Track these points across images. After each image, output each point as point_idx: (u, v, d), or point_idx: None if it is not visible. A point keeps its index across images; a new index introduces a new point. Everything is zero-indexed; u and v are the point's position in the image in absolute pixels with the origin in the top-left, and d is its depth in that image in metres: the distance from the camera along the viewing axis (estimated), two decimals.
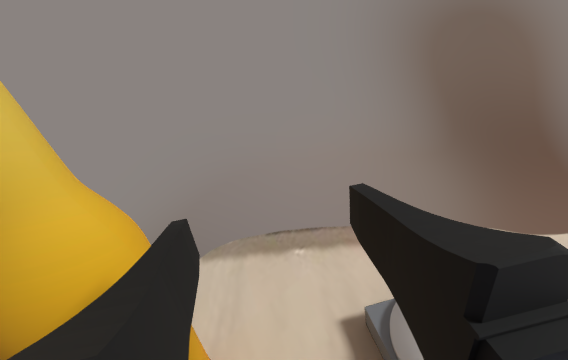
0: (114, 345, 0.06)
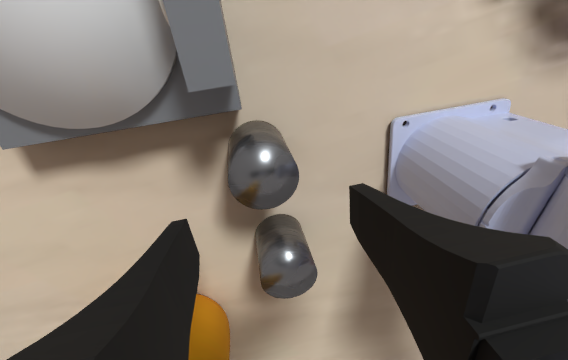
0: (114, 345, 0.06)
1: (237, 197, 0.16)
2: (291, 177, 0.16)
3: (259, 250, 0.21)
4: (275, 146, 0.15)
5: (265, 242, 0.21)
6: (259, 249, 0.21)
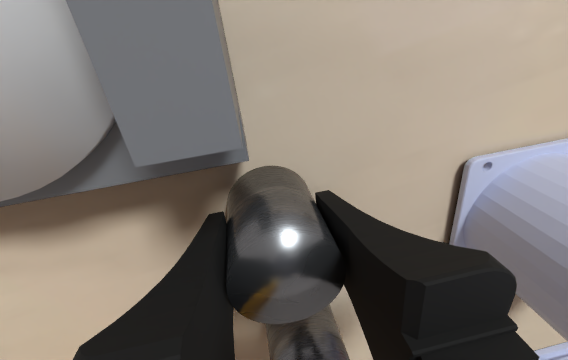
0: (192, 327, 0.06)
1: (242, 311, 0.10)
2: (333, 277, 0.10)
3: (272, 348, 0.15)
4: (309, 233, 0.09)
5: (282, 339, 0.14)
6: (272, 347, 0.15)
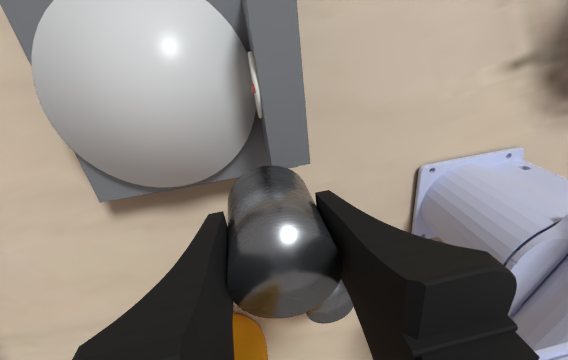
0: (191, 327, 0.06)
1: (244, 306, 0.10)
2: (330, 271, 0.10)
3: None
4: (305, 229, 0.09)
5: None
6: None
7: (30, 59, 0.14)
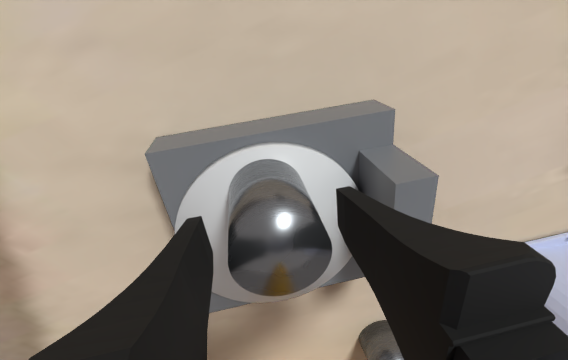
0: (146, 338, 0.06)
1: (245, 286, 0.11)
2: (321, 250, 0.11)
3: (373, 359, 0.26)
4: (293, 213, 0.10)
5: (380, 353, 0.25)
6: (373, 358, 0.26)
7: (169, 211, 0.16)
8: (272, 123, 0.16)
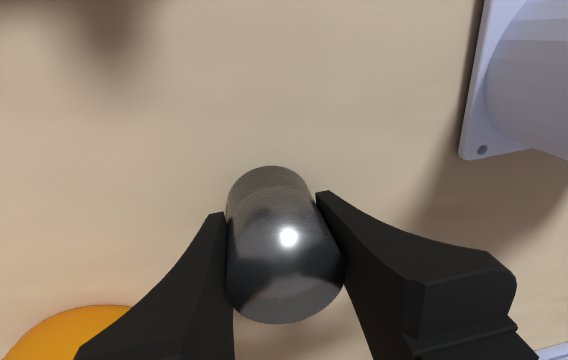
0: (192, 326, 0.06)
1: None
2: None
3: (229, 228, 0.11)
4: None
5: (240, 211, 0.11)
6: (229, 226, 0.11)
7: None
8: None
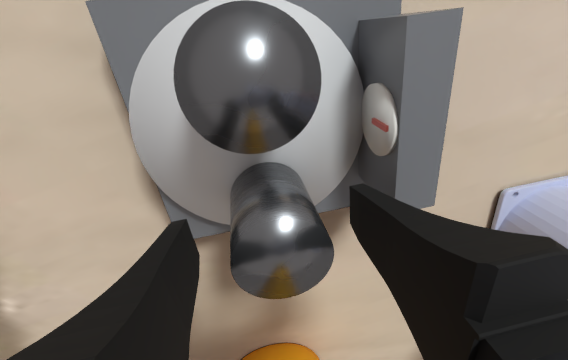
0: (114, 345, 0.06)
1: (204, 132, 0.08)
2: (306, 76, 0.08)
3: (231, 221, 0.12)
4: None
5: (238, 206, 0.12)
6: (231, 219, 0.13)
7: (123, 93, 0.13)
8: None
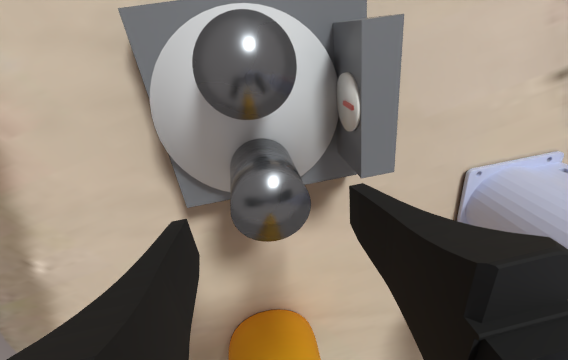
0: (114, 345, 0.06)
1: (213, 103, 0.11)
2: (285, 61, 0.11)
3: (230, 182, 0.16)
4: (252, 10, 0.10)
5: (236, 169, 0.15)
6: (230, 181, 0.16)
7: (145, 80, 0.16)
8: None
